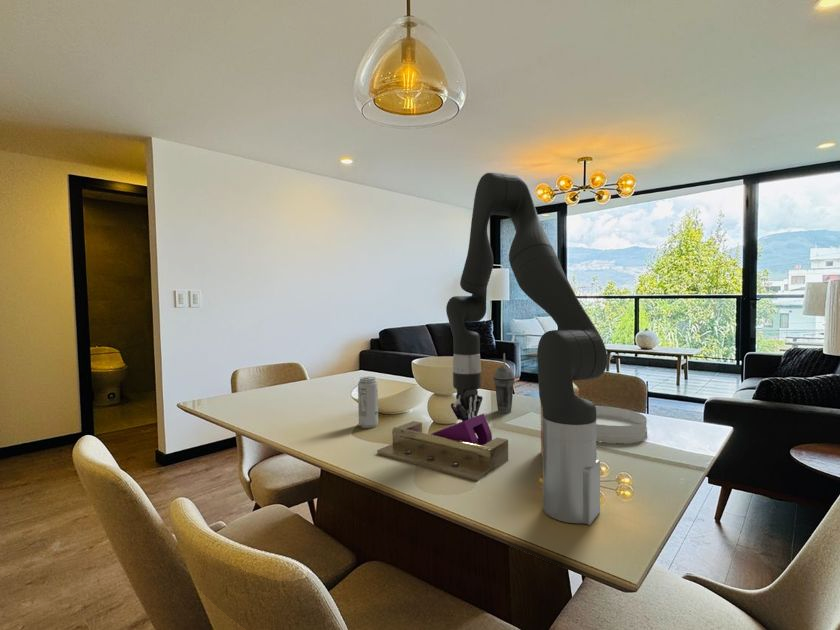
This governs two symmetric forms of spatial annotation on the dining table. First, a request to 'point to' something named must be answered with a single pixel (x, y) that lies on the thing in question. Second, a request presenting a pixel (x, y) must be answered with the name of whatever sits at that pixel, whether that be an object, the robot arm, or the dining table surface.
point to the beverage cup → (504, 388)
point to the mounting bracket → (468, 431)
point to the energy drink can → (368, 402)
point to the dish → (619, 425)
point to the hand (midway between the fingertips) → (467, 434)
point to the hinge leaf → (445, 452)
